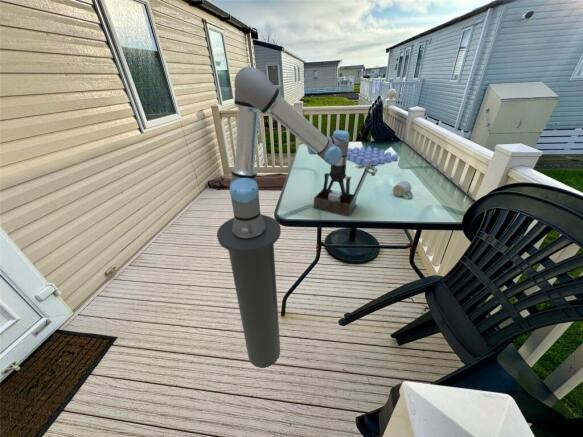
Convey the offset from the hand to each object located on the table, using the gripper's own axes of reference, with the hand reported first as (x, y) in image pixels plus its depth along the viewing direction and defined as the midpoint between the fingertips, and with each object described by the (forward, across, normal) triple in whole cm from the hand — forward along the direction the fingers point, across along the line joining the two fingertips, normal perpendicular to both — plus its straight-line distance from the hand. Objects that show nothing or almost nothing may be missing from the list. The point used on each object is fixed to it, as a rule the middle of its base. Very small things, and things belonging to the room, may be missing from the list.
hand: (334, 204), depth 132 cm
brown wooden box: (+1, 0, 0) cm, 1 cm away
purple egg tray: (+1, +4, -93) cm, 93 cm away
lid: (-15, -12, 0) cm, 19 cm away
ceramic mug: (+1, -31, -31) cm, 44 cm away
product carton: (+1, 0, 0) cm, 1 cm away
